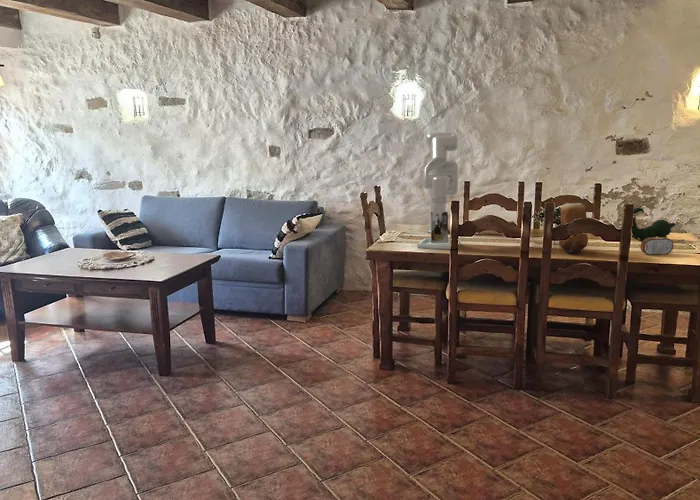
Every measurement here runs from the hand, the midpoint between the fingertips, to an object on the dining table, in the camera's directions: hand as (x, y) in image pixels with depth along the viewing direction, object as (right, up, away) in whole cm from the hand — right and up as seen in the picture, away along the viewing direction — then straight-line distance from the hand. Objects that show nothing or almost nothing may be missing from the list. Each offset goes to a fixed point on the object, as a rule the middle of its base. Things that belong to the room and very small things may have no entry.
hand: (439, 232), depth 306 cm
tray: (0, -7, +1) cm, 7 cm away
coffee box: (0, -5, +1) cm, 5 cm away
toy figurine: (+114, -4, +2) cm, 114 cm away
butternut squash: (+63, -11, -22) cm, 67 cm away
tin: (+100, -12, -30) cm, 106 cm away
